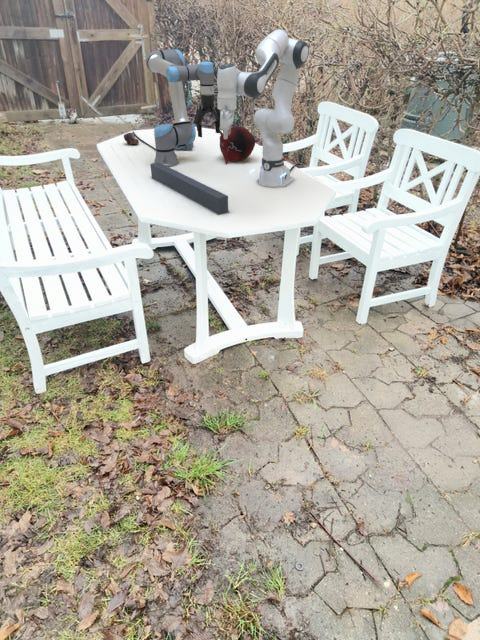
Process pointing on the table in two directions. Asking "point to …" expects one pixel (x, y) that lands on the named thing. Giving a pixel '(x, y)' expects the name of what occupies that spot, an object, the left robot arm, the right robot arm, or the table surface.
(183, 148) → the koala plush
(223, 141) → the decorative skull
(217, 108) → the right robot arm
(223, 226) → the table surface
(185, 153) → the table surface
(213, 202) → the post
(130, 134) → the rock
